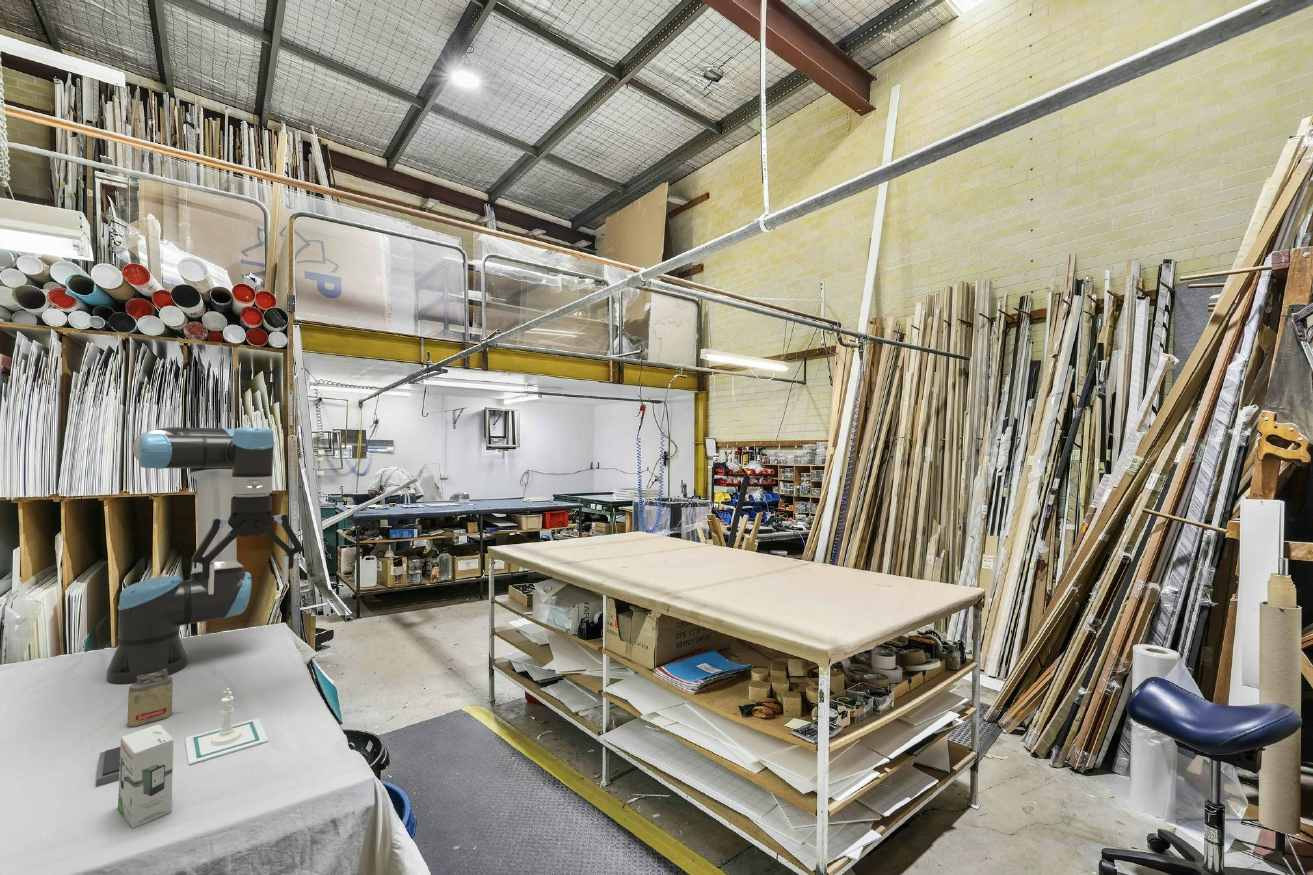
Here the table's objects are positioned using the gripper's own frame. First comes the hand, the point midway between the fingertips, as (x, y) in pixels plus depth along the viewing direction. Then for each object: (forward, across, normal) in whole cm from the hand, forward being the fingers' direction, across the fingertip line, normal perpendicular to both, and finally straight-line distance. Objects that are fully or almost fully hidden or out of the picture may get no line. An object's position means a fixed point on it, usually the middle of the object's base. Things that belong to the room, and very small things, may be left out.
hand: (249, 587), depth 124 cm
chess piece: (+26, -5, -16) cm, 31 cm away
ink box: (+26, -17, -33) cm, 46 cm away
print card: (+26, -5, -16) cm, 31 cm away
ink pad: (+26, -19, -14) cm, 35 cm away
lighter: (+27, -16, +5) cm, 31 cm away
